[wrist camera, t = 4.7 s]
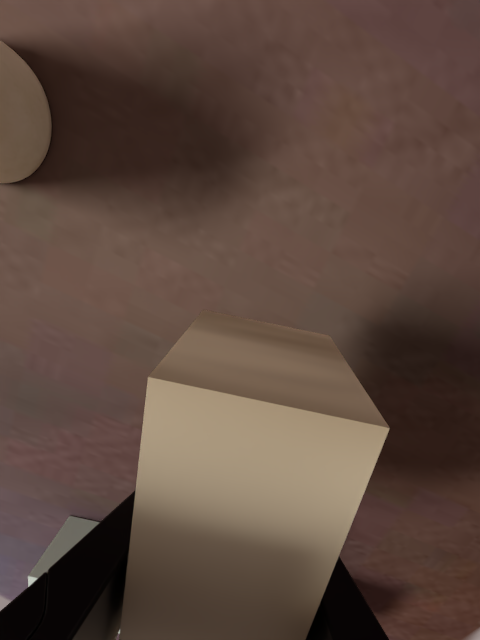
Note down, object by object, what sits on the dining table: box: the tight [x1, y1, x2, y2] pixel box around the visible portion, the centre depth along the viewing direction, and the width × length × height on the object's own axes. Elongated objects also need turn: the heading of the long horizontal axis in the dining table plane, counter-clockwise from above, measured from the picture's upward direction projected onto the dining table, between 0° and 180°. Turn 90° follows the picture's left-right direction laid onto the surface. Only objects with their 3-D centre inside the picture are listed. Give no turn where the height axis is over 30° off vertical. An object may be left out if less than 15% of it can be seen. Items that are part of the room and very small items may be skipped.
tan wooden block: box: [119, 310, 390, 640], centre depth 8 cm, size 10×4×4 cm, turn 169°
